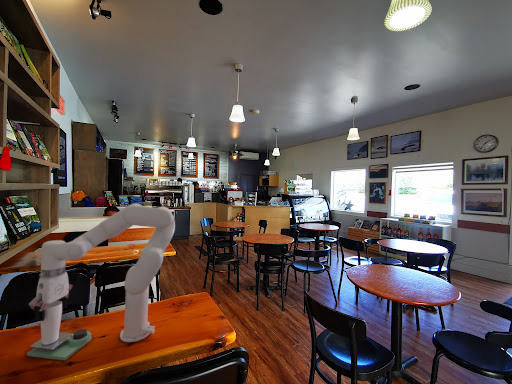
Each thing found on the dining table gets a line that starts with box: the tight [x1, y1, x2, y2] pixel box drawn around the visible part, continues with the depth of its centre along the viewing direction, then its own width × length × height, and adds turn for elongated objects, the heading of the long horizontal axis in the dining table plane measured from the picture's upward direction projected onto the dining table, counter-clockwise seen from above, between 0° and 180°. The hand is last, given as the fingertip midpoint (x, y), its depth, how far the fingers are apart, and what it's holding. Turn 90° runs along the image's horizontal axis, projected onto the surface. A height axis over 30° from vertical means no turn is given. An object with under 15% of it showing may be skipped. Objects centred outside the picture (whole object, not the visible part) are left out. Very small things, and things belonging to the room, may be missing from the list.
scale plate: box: [28, 331, 74, 350], centre depth 96 cm, size 10×10×1 cm
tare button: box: [73, 328, 88, 340], centre depth 100 cm, size 4×4×2 cm
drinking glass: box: [39, 300, 63, 345], centre depth 95 cm, size 7×7×15 cm
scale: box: [26, 330, 93, 361], centre depth 97 cm, size 17×14×3 cm
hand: (51, 313), depth 95 cm, fingers open, 9 cm apart
